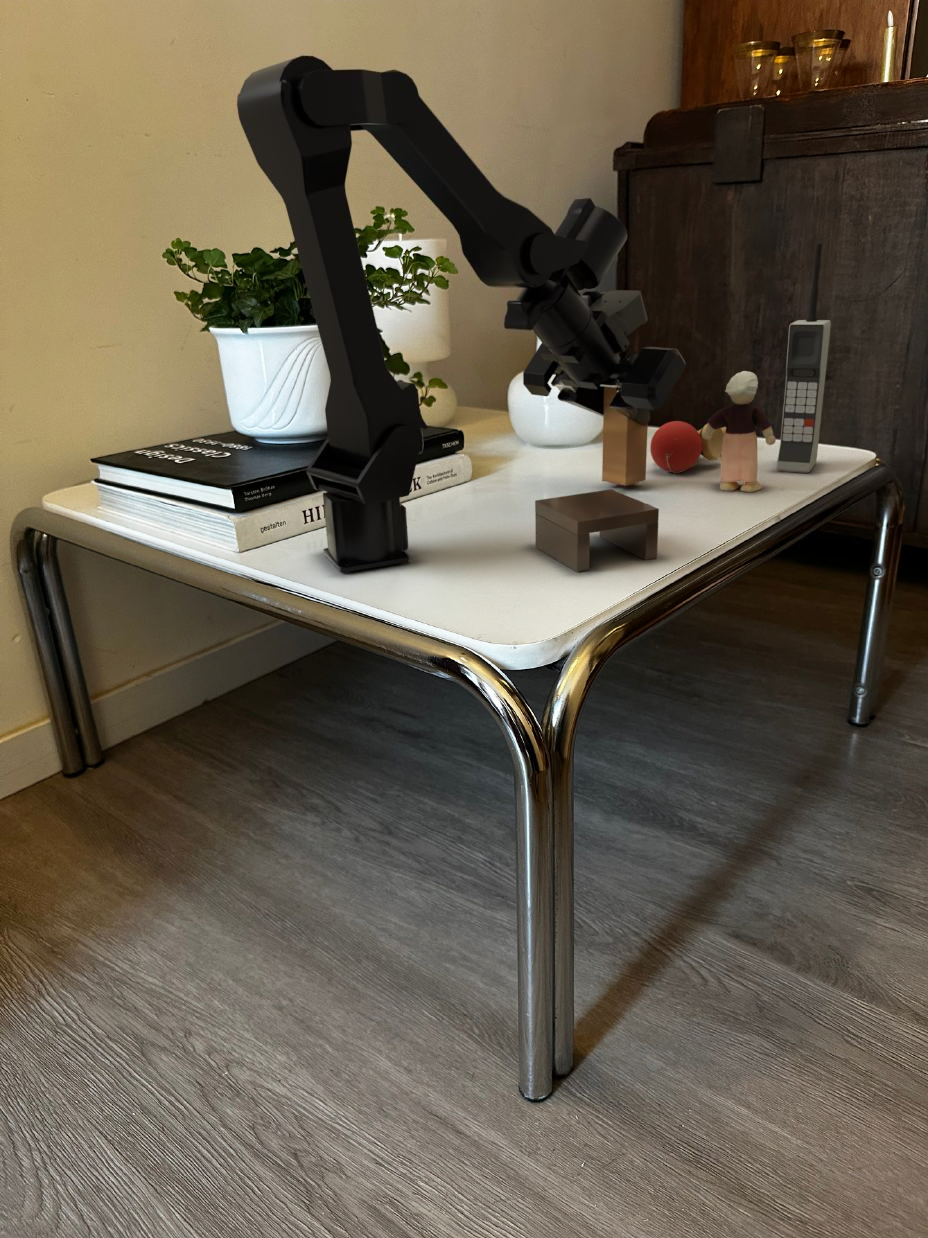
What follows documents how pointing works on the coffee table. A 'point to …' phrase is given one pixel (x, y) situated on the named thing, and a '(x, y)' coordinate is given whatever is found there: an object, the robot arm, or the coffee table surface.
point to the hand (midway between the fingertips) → (633, 420)
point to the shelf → (594, 526)
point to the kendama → (684, 446)
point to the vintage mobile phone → (804, 386)
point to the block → (622, 445)
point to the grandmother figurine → (740, 434)
